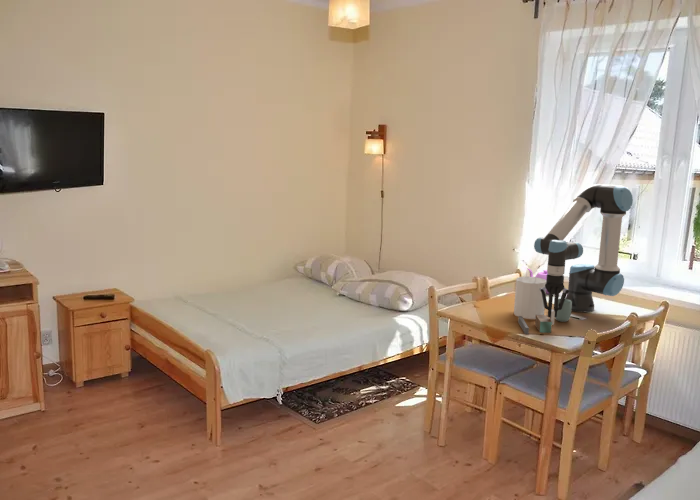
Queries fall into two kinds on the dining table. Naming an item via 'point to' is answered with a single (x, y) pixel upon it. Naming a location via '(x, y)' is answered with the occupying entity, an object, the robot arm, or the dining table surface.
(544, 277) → the teapot
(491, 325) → the dining table surface
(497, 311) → the dining table surface
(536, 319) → the brown and green block
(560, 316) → the cup
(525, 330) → the rail
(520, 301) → the container
